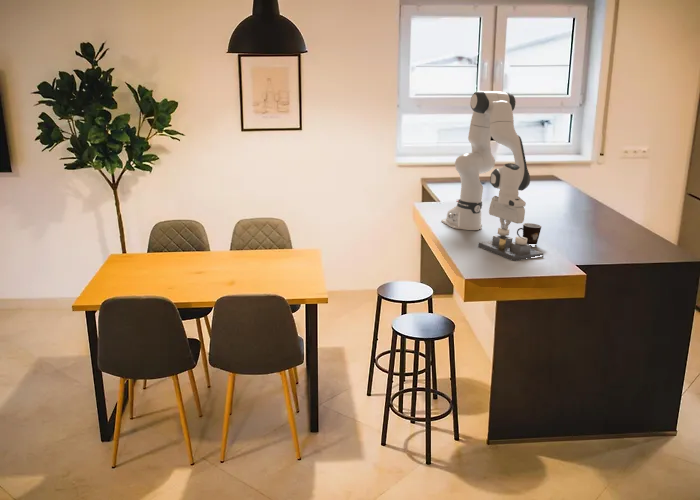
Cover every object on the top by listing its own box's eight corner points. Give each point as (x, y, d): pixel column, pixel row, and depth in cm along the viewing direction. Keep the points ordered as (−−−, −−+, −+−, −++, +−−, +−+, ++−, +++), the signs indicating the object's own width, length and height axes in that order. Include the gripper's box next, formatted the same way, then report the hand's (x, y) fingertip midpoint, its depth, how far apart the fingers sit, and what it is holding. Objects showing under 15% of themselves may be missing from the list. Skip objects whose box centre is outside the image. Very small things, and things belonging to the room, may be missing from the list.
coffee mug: (537, 244, 353) (540, 224, 350) (539, 248, 344) (542, 228, 342) (513, 241, 354) (515, 221, 351) (515, 246, 345) (517, 226, 343)
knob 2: (511, 249, 330) (513, 236, 328) (519, 248, 333) (521, 235, 331) (519, 252, 326) (521, 239, 324) (528, 251, 328) (529, 238, 327)
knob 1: (494, 240, 339) (495, 227, 338) (502, 239, 342) (504, 226, 340) (501, 243, 335) (503, 230, 334) (510, 242, 338) (511, 229, 336)
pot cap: (497, 248, 332) (498, 237, 330) (501, 247, 333) (503, 237, 332) (501, 249, 330) (502, 239, 328) (506, 249, 331) (507, 239, 330)
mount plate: (478, 246, 340) (479, 235, 338) (506, 243, 349) (508, 232, 348) (513, 260, 320) (515, 248, 319) (542, 257, 329) (544, 245, 328)
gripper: (487, 195, 340) (484, 223, 344) (518, 204, 323) (514, 234, 327) (497, 194, 343) (494, 222, 347) (528, 203, 327) (524, 233, 330)
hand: (504, 228), depth 337 cm, fingers closed
